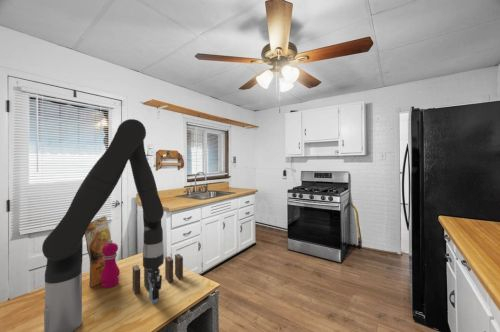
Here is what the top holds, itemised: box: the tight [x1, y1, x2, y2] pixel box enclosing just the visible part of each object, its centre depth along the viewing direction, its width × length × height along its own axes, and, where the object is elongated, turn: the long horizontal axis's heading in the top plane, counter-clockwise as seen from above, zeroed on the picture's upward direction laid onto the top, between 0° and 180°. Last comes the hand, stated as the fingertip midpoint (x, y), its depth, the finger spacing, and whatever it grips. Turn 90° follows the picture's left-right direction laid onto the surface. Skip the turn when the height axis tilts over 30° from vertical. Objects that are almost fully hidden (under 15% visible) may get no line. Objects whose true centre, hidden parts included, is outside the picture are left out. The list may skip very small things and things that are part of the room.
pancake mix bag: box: [84, 215, 112, 288], centre depth 102 cm, size 7×19×28 cm, turn 3°
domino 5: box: [174, 253, 184, 280], centre depth 103 cm, size 2×5×10 cm, turn 39°
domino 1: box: [132, 264, 141, 295], centre depth 92 cm, size 2×5×10 cm, turn 39°
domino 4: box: [164, 256, 174, 284], centre depth 100 cm, size 2×5×10 cm, turn 39°
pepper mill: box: [101, 239, 121, 289], centre depth 97 cm, size 7×7×20 cm
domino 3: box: [148, 279, 159, 305], centre depth 86 cm, size 2×5×10 cm, turn 39°
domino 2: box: [143, 267, 149, 291], centre depth 95 cm, size 2×5×10 cm, turn 39°
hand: (153, 295), depth 86 cm, fingers closed on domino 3, 5 cm apart
